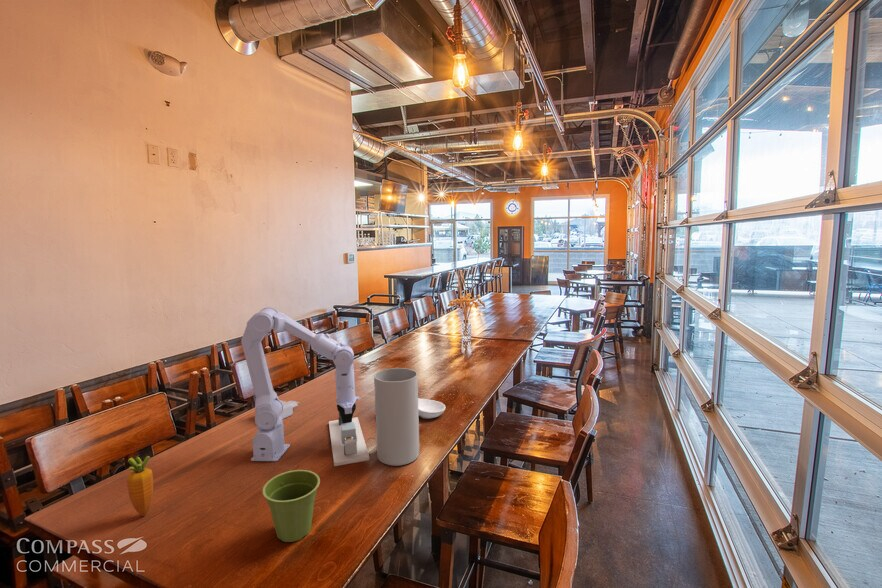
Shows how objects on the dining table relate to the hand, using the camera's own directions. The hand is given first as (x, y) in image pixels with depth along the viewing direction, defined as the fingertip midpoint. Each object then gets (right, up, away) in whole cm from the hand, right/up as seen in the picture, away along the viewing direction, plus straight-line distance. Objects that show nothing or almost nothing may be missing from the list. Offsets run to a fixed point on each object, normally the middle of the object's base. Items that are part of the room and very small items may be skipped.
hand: (347, 426), depth 130 cm
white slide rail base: (-1, -6, +4) cm, 7 cm away
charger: (-30, -4, +25) cm, 39 cm away
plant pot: (-3, -11, -38) cm, 40 cm away
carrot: (-41, -11, -32) cm, 53 cm away
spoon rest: (+19, -3, +22) cm, 30 cm away
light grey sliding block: (+1, -3, -3) cm, 4 cm away
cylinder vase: (+17, -7, -6) cm, 19 cm away
